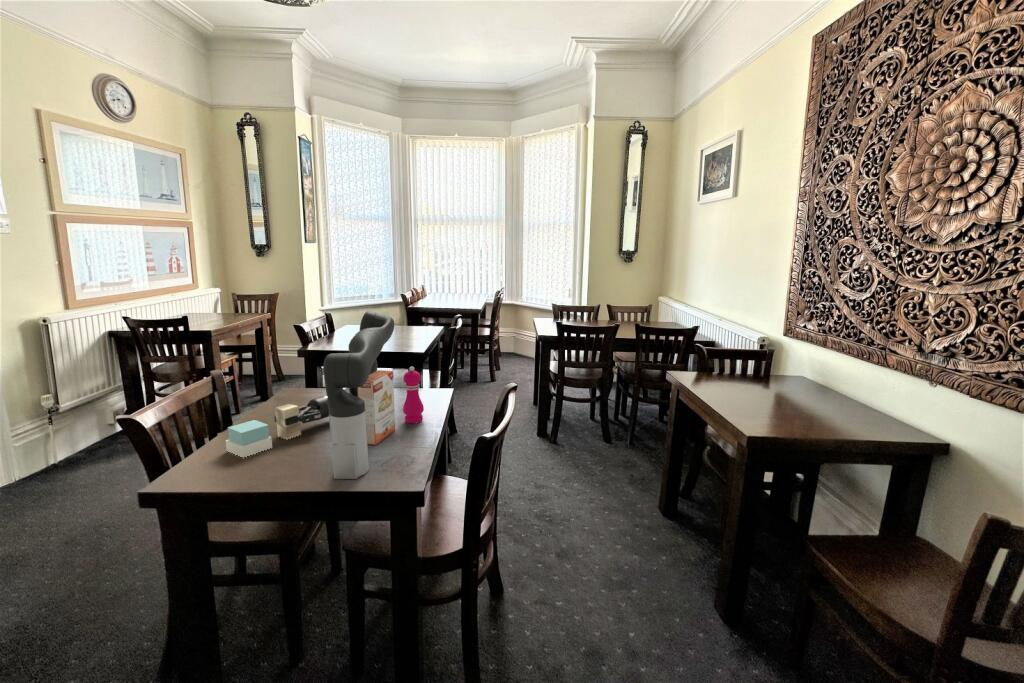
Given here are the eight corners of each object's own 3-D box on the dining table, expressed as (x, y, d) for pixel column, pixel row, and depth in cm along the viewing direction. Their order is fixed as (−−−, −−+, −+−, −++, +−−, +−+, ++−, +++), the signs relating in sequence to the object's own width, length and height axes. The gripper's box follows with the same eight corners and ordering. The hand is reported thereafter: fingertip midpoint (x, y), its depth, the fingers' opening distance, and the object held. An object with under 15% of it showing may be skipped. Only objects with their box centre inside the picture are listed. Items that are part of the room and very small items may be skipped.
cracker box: (377, 446, 146) (373, 381, 142) (359, 444, 147) (355, 380, 144) (397, 429, 160) (394, 370, 156) (380, 428, 161) (377, 369, 157)
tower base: (272, 449, 145) (271, 437, 144) (243, 459, 137) (241, 447, 137) (256, 443, 150) (254, 431, 149) (226, 452, 142) (225, 440, 141)
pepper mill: (399, 420, 168) (397, 366, 164) (416, 415, 173) (414, 363, 169) (410, 425, 163) (408, 370, 159) (428, 420, 168) (426, 366, 164)
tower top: (269, 437, 144) (268, 424, 143) (242, 445, 137) (241, 433, 137) (255, 431, 148) (254, 419, 148) (229, 440, 142) (227, 427, 141)
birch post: (301, 435, 155) (298, 406, 153) (287, 440, 151) (284, 410, 149) (291, 432, 158) (289, 403, 156) (277, 436, 153) (274, 407, 152)
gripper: (311, 393, 168) (266, 406, 154) (338, 399, 161) (292, 413, 146) (313, 413, 169) (268, 427, 155) (339, 420, 162) (294, 436, 148)
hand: (280, 420), depth 151 cm, fingers closed on birch post, 5 cm apart
